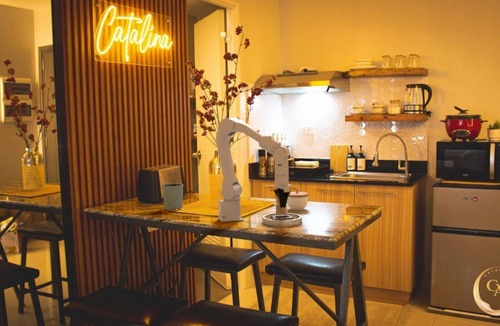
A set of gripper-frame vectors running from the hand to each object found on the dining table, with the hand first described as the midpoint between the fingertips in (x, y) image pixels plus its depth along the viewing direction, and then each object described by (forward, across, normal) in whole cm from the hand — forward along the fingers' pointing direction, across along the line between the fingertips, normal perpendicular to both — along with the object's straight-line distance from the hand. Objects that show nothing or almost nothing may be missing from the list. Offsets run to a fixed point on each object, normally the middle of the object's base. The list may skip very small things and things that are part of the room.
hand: (282, 206), depth 214 cm
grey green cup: (+7, +46, +42) cm, 63 cm away
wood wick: (+3, 0, 0) cm, 3 cm away
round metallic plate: (+7, 0, 0) cm, 7 cm away
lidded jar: (+7, +26, -15) cm, 31 cm away
